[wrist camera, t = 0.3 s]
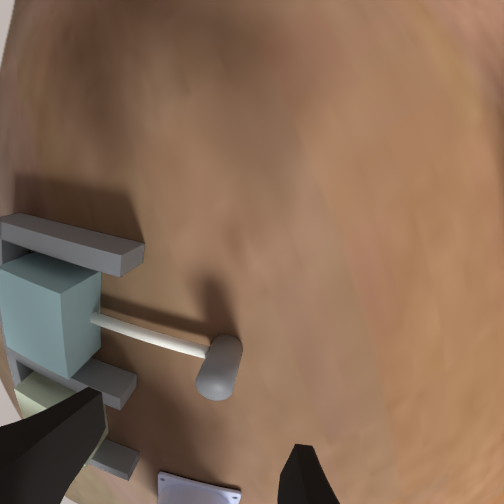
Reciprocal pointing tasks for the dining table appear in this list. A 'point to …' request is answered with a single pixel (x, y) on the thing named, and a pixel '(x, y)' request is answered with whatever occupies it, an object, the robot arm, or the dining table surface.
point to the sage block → (45, 398)
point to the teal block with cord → (88, 323)
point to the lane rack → (93, 371)
